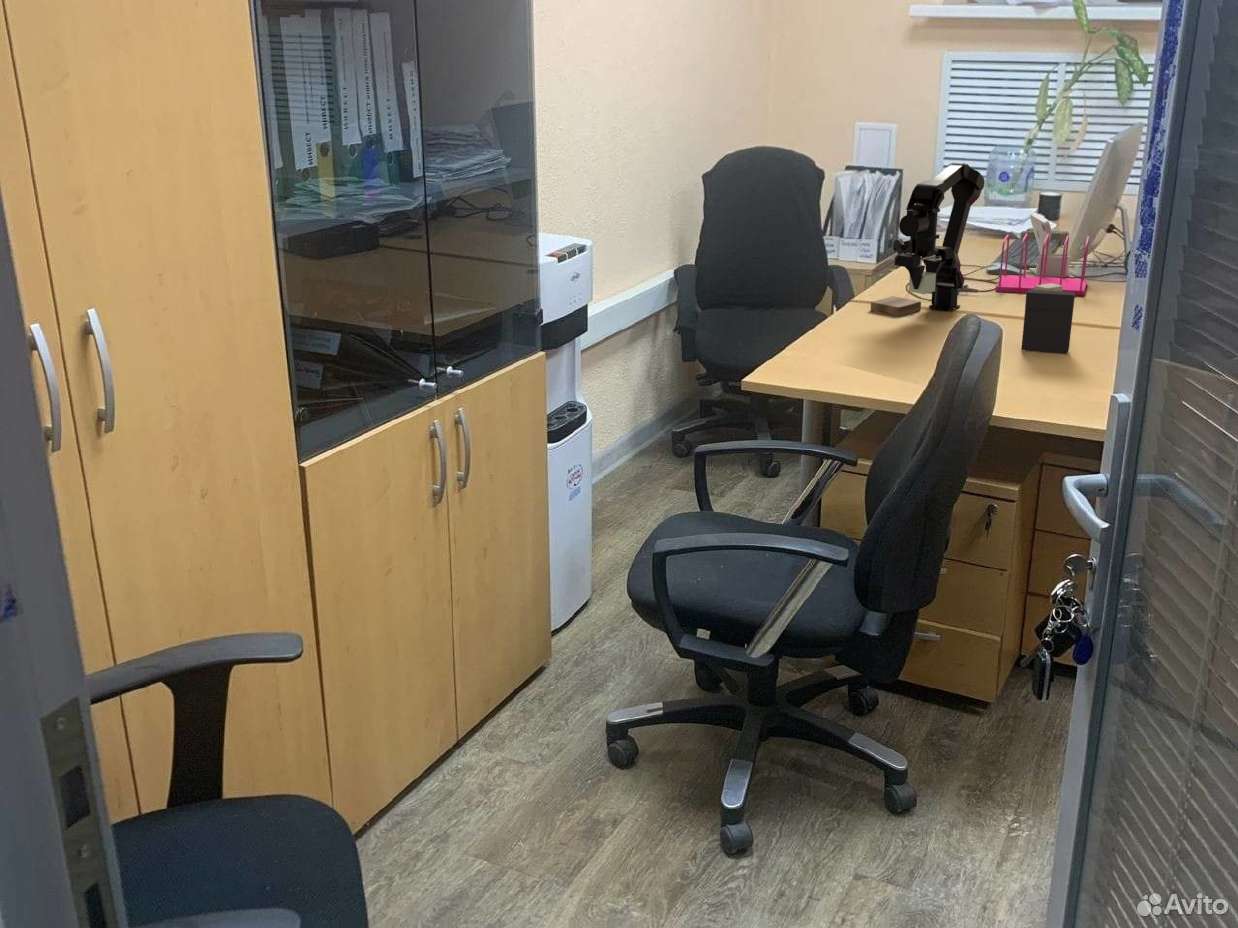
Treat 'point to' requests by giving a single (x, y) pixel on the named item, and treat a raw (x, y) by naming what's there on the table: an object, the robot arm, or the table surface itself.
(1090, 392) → the table surface
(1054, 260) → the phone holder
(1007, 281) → the file sorter
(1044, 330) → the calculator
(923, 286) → the sage cube
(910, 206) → the robot arm
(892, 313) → the walnut block
